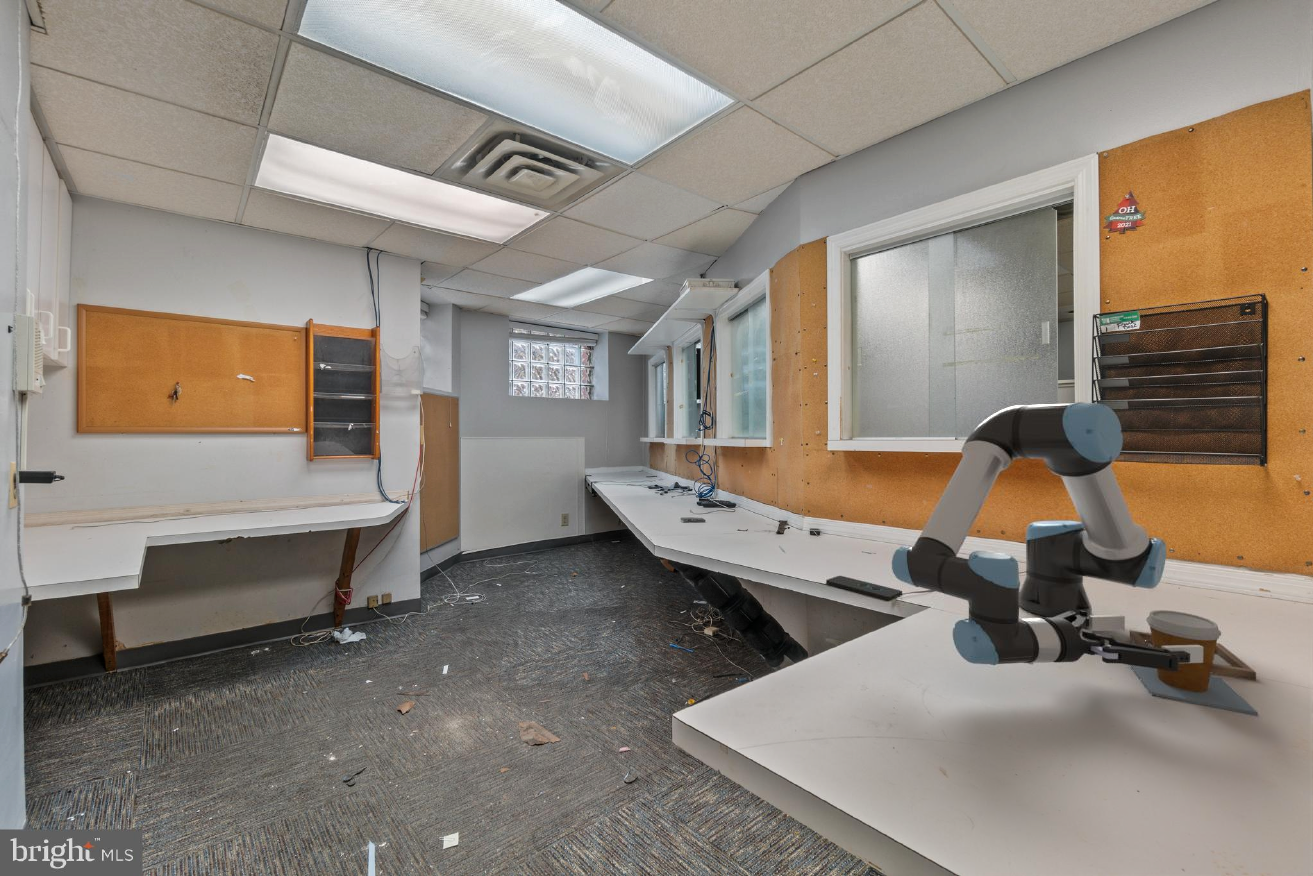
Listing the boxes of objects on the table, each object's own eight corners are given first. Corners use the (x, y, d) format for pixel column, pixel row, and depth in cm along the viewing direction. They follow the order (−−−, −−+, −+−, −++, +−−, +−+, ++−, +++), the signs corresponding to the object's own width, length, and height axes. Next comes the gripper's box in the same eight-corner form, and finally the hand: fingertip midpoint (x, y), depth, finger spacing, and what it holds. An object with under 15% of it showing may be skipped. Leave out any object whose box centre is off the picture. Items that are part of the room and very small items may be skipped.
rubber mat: (1151, 695, 90) (1151, 692, 90) (1128, 664, 101) (1128, 662, 101) (1257, 715, 83) (1258, 712, 83) (1220, 680, 94) (1220, 678, 94)
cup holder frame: (1151, 662, 101) (1151, 655, 101) (1129, 636, 114) (1129, 630, 114) (1255, 680, 94) (1256, 672, 94) (1219, 650, 107) (1219, 643, 107)
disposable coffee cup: (1185, 671, 97) (1185, 609, 97) (1238, 697, 87) (1238, 629, 87) (1132, 670, 98) (1132, 609, 97) (1178, 696, 88) (1179, 629, 88)
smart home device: (889, 596, 139) (825, 579, 154) (889, 602, 139) (825, 585, 154) (903, 590, 144) (840, 574, 160) (903, 596, 144) (840, 580, 160)
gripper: (996, 632, 103) (1096, 629, 104) (1110, 697, 78) (1240, 693, 79) (996, 596, 103) (1096, 593, 104) (1111, 649, 78) (1241, 646, 79)
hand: (1159, 636), depth 91 cm, fingers open, 13 cm apart
